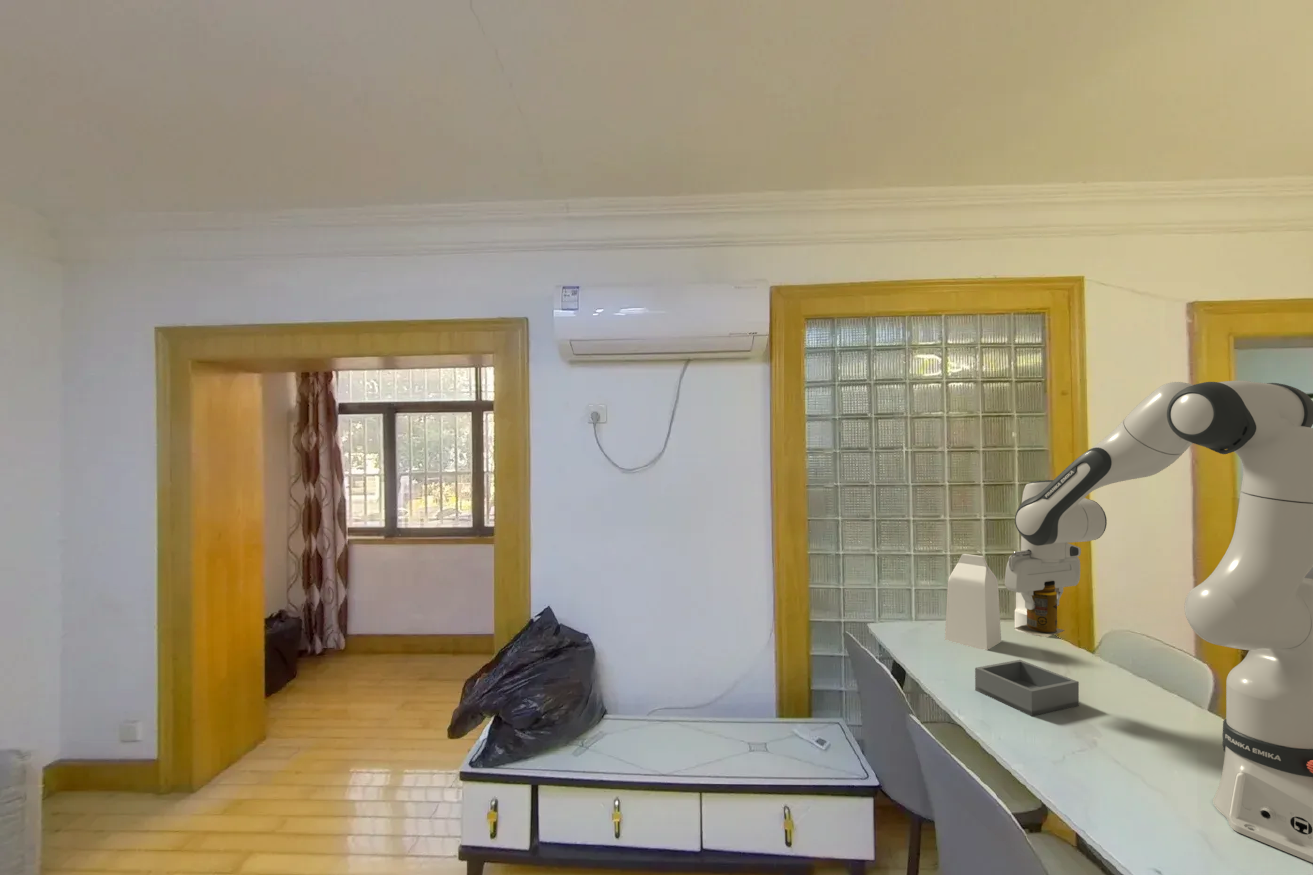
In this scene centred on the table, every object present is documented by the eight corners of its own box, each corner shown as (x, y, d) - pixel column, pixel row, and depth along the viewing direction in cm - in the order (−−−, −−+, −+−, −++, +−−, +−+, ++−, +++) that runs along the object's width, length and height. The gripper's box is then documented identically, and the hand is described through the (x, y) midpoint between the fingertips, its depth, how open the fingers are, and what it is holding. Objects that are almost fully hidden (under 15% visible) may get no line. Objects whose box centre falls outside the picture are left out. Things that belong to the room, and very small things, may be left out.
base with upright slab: (1008, 627, 200) (1007, 590, 200) (1029, 625, 203) (1029, 588, 203) (1032, 636, 192) (1032, 597, 191) (1054, 633, 194) (1054, 595, 194)
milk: (944, 640, 188) (944, 555, 188) (960, 632, 196) (960, 550, 196) (986, 650, 179) (986, 560, 179) (1001, 641, 187) (1001, 555, 187)
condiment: (1065, 631, 144) (1064, 579, 144) (1046, 638, 140) (1046, 585, 140) (1032, 623, 151) (1031, 573, 150) (1013, 629, 146) (1013, 578, 146)
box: (1078, 705, 143) (1078, 681, 143) (1031, 716, 137) (1031, 691, 137) (1019, 681, 157) (1019, 659, 157) (975, 690, 151) (975, 667, 151)
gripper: (1022, 554, 139) (1021, 615, 139) (1086, 548, 146) (1085, 606, 146) (997, 549, 144) (997, 608, 145) (1060, 543, 151) (1060, 599, 152)
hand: (1042, 607), depth 145 cm, fingers closed on condiment, 6 cm apart
